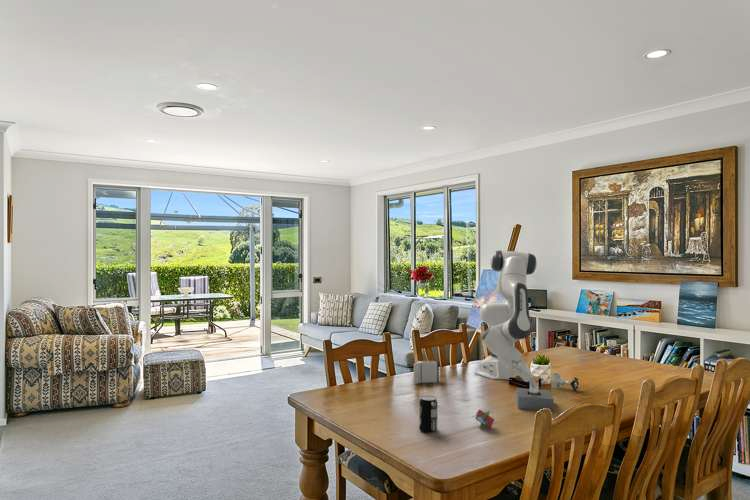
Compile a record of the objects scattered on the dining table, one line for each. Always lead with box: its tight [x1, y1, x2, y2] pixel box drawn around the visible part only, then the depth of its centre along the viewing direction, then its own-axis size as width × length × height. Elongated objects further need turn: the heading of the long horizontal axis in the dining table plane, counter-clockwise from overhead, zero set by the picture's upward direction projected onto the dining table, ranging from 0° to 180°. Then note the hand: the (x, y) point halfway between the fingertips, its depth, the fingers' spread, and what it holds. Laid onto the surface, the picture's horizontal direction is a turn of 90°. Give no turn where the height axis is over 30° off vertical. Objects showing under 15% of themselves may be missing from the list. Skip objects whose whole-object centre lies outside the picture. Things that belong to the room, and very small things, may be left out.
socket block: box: [515, 387, 554, 412], centre depth 216 cm, size 14×14×5 cm
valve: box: [550, 373, 580, 392], centre depth 242 cm, size 7×7×12 cm
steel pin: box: [529, 375, 539, 395], centre depth 216 cm, size 4×4×11 cm
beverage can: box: [418, 394, 438, 434], centre depth 185 cm, size 7×7×12 cm
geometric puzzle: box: [475, 409, 495, 430], centre depth 188 cm, size 7×7×8 cm
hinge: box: [413, 360, 440, 385], centre depth 254 cm, size 14×5×10 cm, turn 106°
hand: (535, 382), depth 216 cm, fingers open, 8 cm apart
